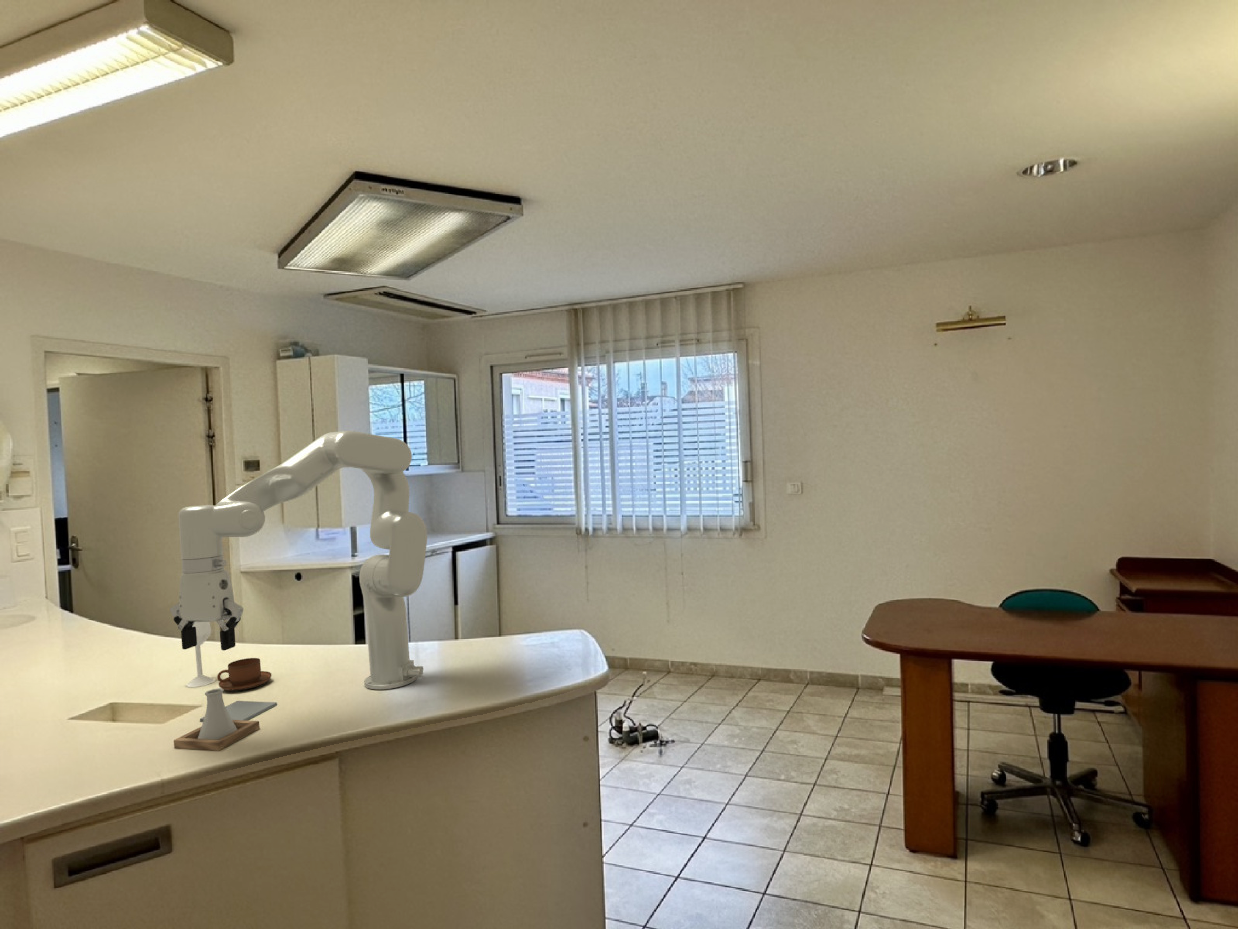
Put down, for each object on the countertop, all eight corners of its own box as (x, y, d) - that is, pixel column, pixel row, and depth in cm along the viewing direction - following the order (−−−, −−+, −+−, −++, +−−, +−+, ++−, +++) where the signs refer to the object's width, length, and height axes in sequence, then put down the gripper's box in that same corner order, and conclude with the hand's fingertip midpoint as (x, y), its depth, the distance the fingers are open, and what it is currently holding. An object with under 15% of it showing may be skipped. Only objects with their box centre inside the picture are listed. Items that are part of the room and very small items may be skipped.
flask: (220, 746, 148) (216, 697, 147) (189, 745, 149) (185, 696, 149) (245, 731, 155) (241, 685, 154) (215, 731, 156) (212, 684, 156)
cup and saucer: (236, 697, 178) (234, 672, 178) (209, 690, 184) (207, 666, 184) (281, 681, 188) (280, 658, 188) (254, 676, 194) (252, 653, 194)
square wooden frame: (259, 728, 156) (259, 721, 156) (219, 750, 145) (218, 742, 145) (217, 726, 159) (216, 719, 159) (174, 748, 148) (173, 740, 148)
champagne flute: (182, 684, 191) (174, 592, 190) (210, 676, 196) (202, 587, 195) (190, 689, 186) (182, 595, 185) (219, 681, 191) (211, 590, 190)
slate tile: (276, 705, 170) (276, 702, 170) (241, 723, 159) (241, 721, 159) (237, 703, 173) (237, 700, 173) (200, 721, 162) (199, 718, 162)
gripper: (251, 562, 152) (257, 644, 152) (184, 562, 156) (189, 642, 157) (223, 568, 145) (229, 654, 145) (153, 569, 149) (159, 652, 150)
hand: (209, 648), depth 151 cm, fingers open, 9 cm apart
